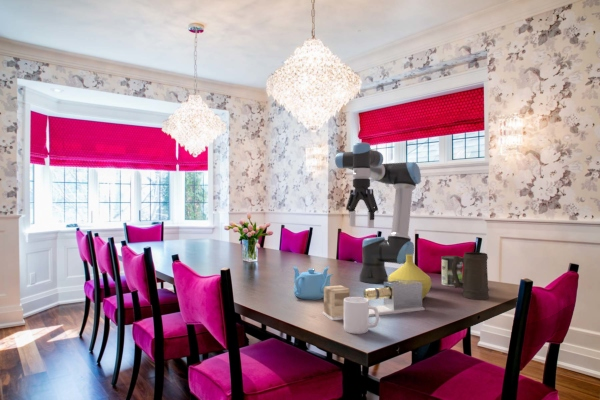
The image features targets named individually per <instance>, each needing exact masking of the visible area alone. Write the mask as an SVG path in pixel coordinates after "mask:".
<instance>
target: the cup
mask: <svg viewBox="0 0 600 400" xmlns="http://www.w3.org/2000/svg"><path fill="white" fill-rule="evenodd" d="M369 302H370V300H368V299H367V298H364V296H363V297H362V296H349V297H347V298H344V319H343V330H344V331H345V332H346V333H349V334H356V335H362V334H366V333H368V331H369V329H370V328H371V329H372V328H373V329H374V328H375V327H377V326H378V325H379V321H380V315H379V312H378V310H377V308H376V307H375V306H376V305H371V304H370V303H369ZM369 309H373V310H374V311H375V314H376V316H375V321H374V323H370V322H369V321H370V318H369V317H370V316H369Z"/></svg>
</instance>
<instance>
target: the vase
mask: <svg viewBox="0 0 600 400" xmlns="http://www.w3.org/2000/svg"><path fill="white" fill-rule="evenodd" d="M400 280H414V281H418V282H421V283H422V300H423V299H424V298H425V297H426V296H427V295H428V294H429V291H430V290H431V287H432V279H431V277H430V276H429V275H428V274H427V273H425V272H424V271H423V269H421V268H420V267H418V266H417V265H416V264H415V263H414V254H413V255H406V262H405V263H404V264H401V266H400V267H398V268H397V269H396V270H395V271H393V272H391V273H390V274H389V275H388V281H400ZM388 281H387V282H388Z"/></svg>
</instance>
